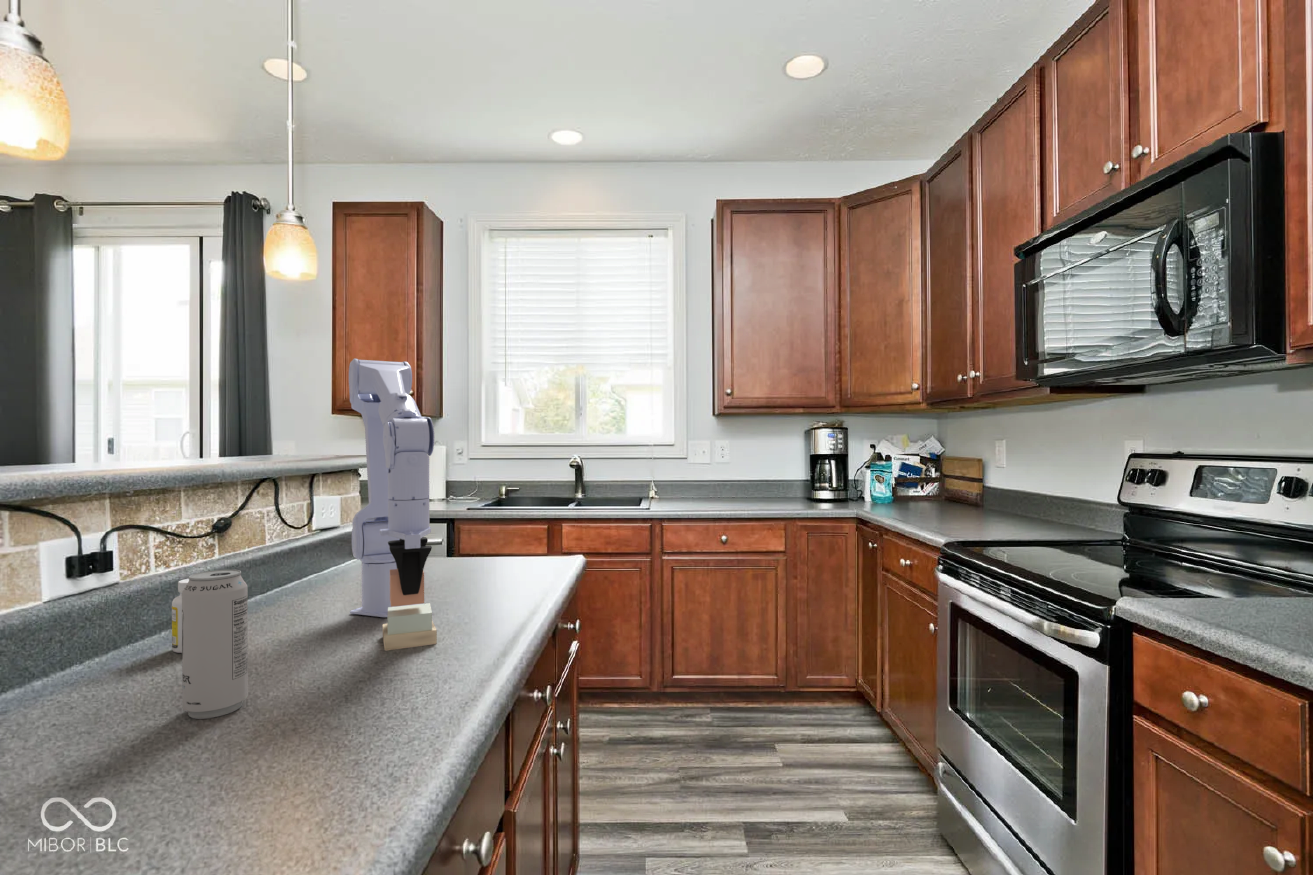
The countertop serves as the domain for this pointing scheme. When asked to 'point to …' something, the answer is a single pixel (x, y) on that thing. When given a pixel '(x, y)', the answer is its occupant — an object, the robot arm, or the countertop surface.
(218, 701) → the energy drink can
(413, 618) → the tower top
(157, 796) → the countertop surface
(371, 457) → the robot arm
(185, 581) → the supplement bottle
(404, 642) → the tower base
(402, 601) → the terracotta cube
